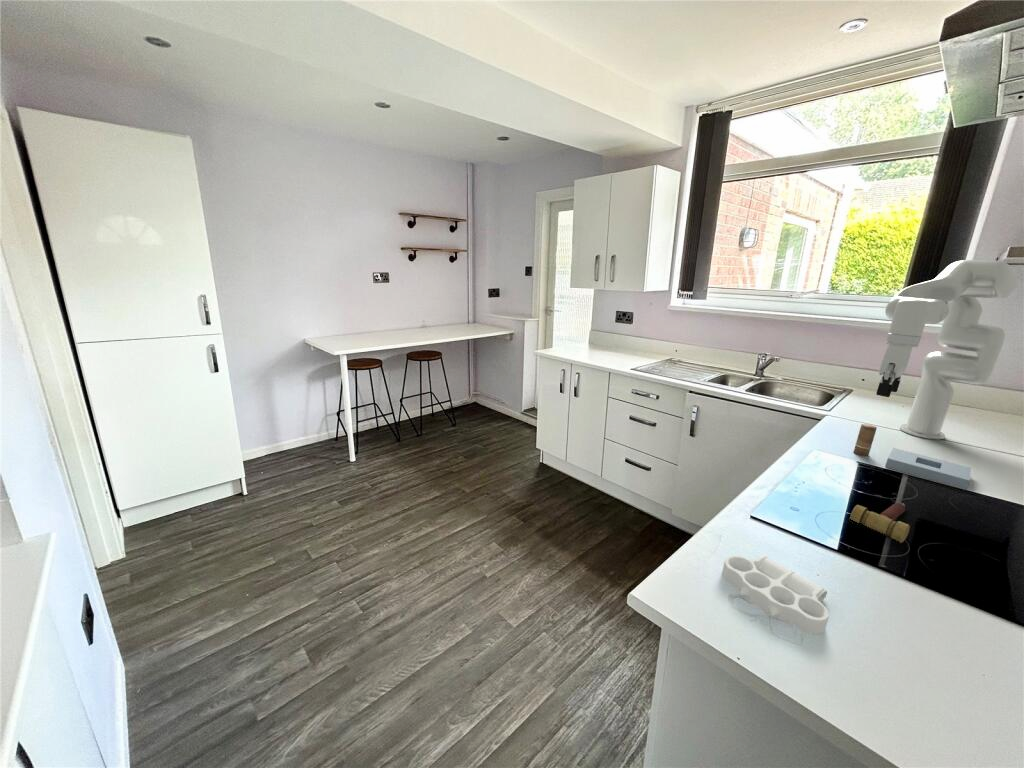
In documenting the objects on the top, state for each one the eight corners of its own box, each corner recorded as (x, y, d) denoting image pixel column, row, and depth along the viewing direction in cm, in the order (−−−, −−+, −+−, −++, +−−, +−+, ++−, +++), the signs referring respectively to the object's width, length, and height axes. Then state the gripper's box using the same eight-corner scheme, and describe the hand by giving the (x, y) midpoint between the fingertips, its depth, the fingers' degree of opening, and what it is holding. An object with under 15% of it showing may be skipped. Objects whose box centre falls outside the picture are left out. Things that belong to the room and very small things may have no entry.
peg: (854, 450, 145) (862, 423, 142) (869, 454, 142) (877, 426, 139) (852, 453, 143) (860, 425, 140) (867, 457, 140) (875, 429, 137)
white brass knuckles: (844, 611, 78) (807, 649, 70) (747, 555, 92) (707, 581, 84) (849, 597, 77) (812, 633, 69) (750, 542, 91) (710, 567, 83)
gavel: (881, 488, 115) (931, 506, 107) (876, 503, 116) (925, 522, 108) (852, 506, 103) (906, 528, 95) (847, 523, 104) (899, 545, 96)
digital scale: (890, 455, 141) (893, 447, 141) (967, 476, 129) (970, 467, 128) (885, 466, 134) (887, 458, 133) (966, 489, 121) (969, 480, 120)
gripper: (893, 336, 137) (878, 386, 142) (880, 340, 127) (864, 394, 132) (924, 340, 132) (907, 392, 137) (913, 344, 121) (895, 401, 126)
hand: (886, 393), depth 134 cm, fingers open, 9 cm apart
